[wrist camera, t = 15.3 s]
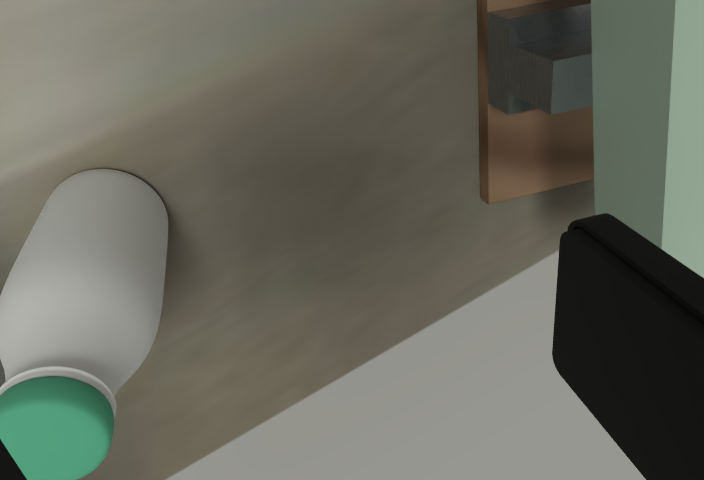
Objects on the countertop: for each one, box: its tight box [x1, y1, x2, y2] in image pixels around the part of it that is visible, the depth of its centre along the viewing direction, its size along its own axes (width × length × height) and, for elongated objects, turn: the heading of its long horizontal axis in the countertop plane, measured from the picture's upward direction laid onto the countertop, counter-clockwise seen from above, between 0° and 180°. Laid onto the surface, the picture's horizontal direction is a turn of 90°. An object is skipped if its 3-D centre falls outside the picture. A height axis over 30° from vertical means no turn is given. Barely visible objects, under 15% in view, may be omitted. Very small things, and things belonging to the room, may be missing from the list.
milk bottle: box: [0, 169, 168, 480], centre depth 30 cm, size 8×8×20 cm
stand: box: [477, 0, 594, 204], centre depth 36 cm, size 22×10×10 cm, turn 8°
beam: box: [591, 0, 704, 277], centre depth 29 cm, size 22×5×6 cm, turn 15°
